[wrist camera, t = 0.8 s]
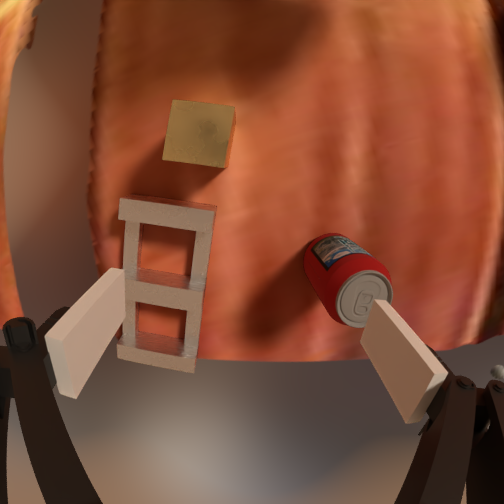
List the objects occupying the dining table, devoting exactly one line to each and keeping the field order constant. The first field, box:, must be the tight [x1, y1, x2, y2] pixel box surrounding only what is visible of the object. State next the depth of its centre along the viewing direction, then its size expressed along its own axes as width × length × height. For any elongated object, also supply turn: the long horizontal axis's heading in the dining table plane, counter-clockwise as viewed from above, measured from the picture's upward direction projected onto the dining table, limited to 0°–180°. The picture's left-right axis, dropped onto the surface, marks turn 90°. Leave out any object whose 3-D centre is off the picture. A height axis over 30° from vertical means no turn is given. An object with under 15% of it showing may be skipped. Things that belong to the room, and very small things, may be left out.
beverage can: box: [303, 233, 393, 328], centre depth 31 cm, size 7×7×12 cm
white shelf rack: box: [117, 194, 217, 373], centre depth 35 cm, size 20×10×4 cm, turn 170°
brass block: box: [162, 99, 236, 168], centre depth 27 cm, size 5×5×10 cm
